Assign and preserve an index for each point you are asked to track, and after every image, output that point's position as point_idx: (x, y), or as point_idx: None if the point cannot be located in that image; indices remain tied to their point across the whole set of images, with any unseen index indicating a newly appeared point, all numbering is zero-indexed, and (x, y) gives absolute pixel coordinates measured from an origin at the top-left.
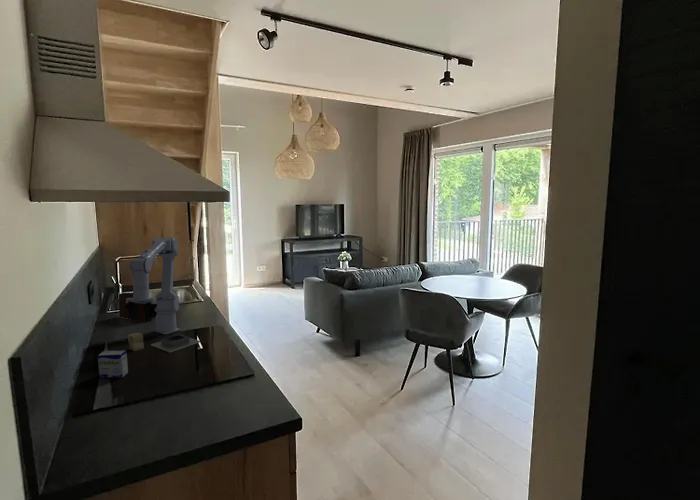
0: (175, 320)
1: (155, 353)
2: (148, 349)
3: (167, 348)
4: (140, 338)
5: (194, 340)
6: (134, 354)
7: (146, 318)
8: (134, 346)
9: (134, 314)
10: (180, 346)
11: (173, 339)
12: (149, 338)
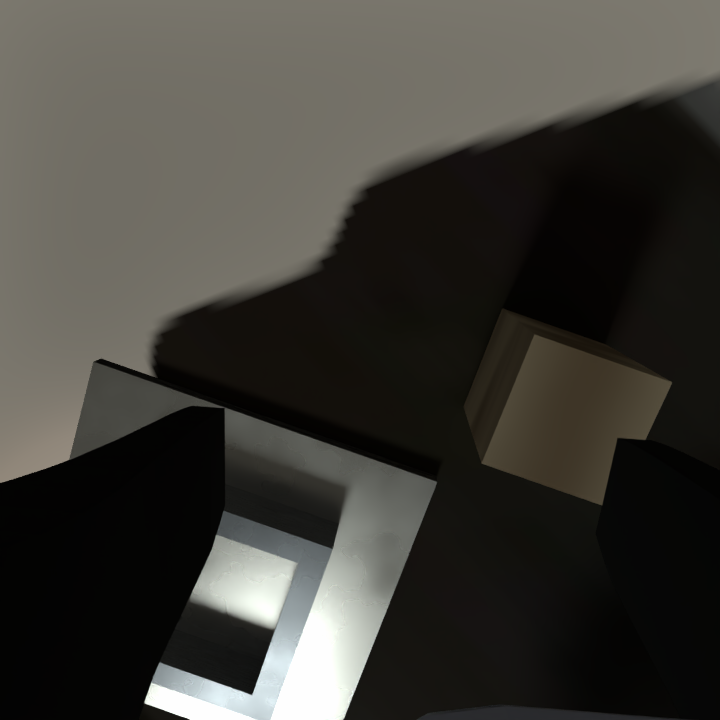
0: None
1: (221, 305)
2: (381, 382)
3: None
4: (488, 415)
5: None
6: (419, 225)
7: (155, 423)
8: (506, 321)
9: (678, 577)
10: None
11: (275, 626)
12: (619, 652)
